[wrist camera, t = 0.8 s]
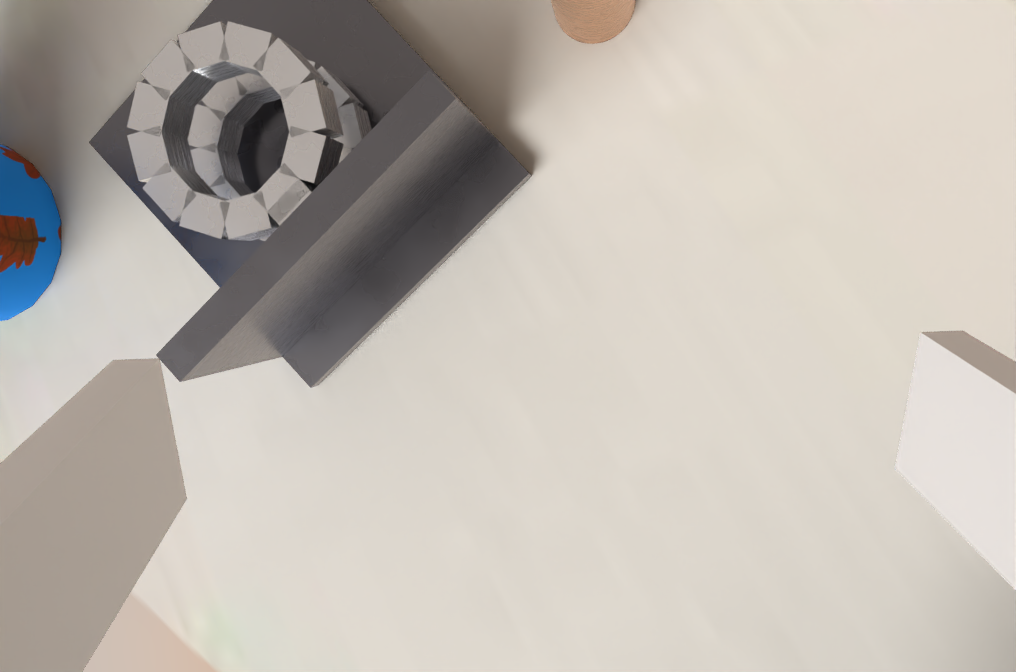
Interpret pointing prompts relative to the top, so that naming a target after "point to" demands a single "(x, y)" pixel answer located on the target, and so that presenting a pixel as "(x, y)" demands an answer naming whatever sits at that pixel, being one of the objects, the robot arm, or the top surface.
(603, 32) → the copper tube
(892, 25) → the top surface
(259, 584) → the top surface
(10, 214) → the thermos
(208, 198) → the collar stand
